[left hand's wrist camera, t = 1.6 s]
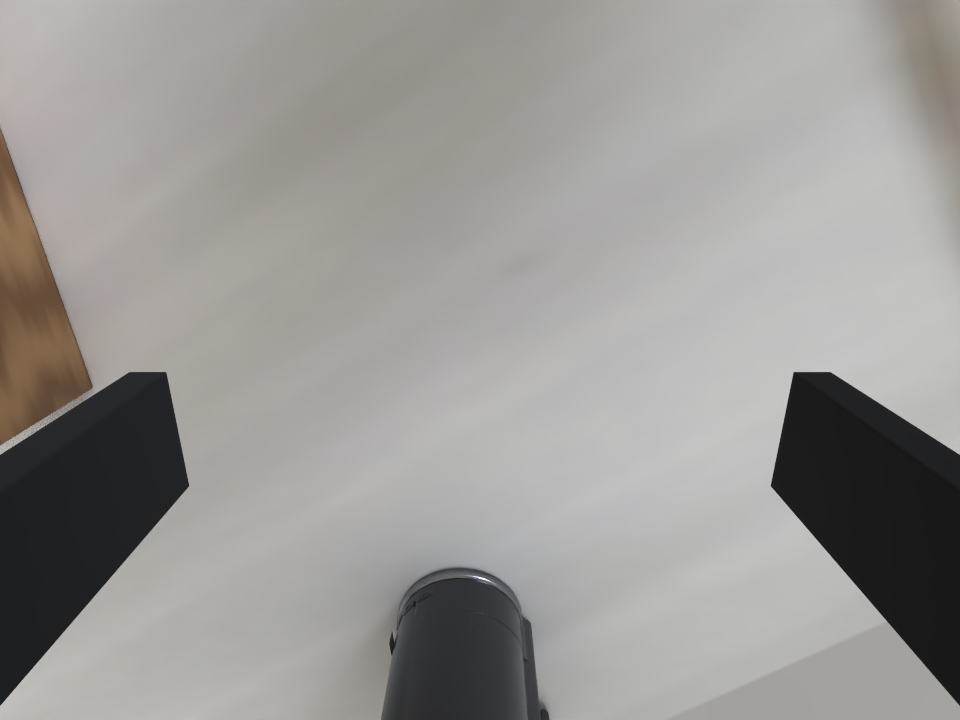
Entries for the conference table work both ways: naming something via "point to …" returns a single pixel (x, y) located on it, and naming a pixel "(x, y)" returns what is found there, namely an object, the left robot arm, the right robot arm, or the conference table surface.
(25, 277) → the box
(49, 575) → the left robot arm
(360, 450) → the conference table surface
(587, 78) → the conference table surface
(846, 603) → the conference table surface
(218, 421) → the conference table surface
